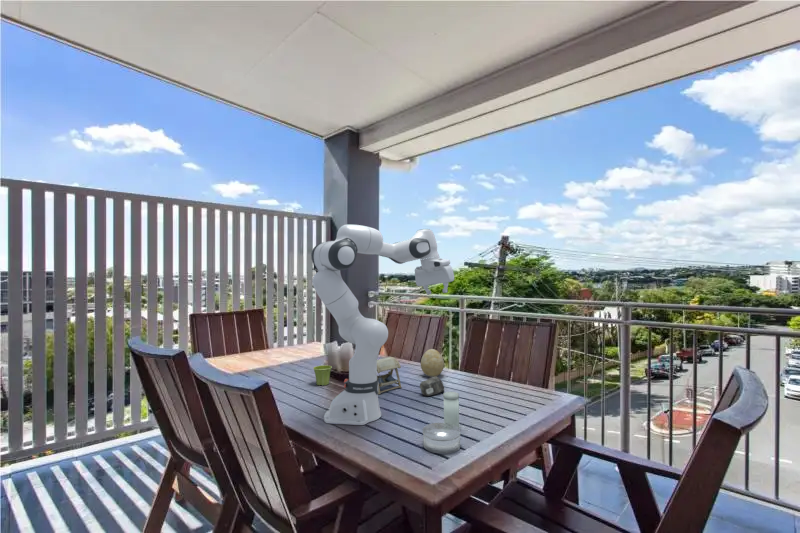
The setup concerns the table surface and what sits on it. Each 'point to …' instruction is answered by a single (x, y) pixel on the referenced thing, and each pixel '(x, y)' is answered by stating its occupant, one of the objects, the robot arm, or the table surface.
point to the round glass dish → (441, 438)
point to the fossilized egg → (432, 363)
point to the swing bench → (387, 379)
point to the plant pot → (322, 374)
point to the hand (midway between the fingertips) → (437, 293)
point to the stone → (431, 386)
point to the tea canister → (451, 408)
